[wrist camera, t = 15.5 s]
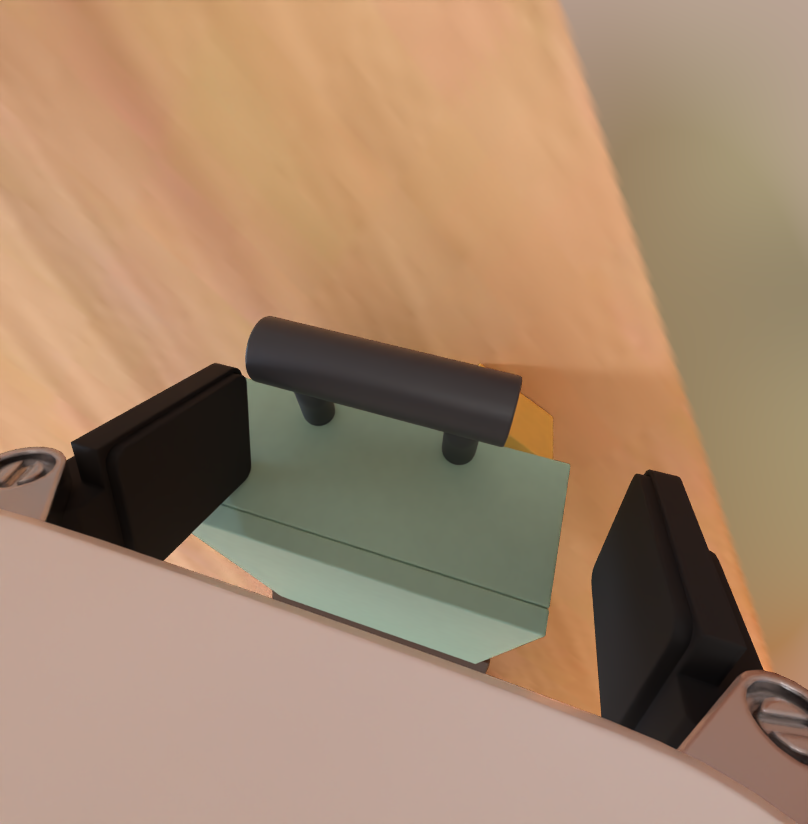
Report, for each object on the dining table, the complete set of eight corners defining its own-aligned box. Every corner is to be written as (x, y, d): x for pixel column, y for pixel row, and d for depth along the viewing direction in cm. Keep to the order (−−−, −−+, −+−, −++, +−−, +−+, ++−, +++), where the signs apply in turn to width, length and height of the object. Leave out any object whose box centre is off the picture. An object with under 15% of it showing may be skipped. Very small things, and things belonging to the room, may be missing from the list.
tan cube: (406, 470, 19) (429, 423, 22) (486, 527, 19) (496, 472, 23) (465, 402, 17) (479, 362, 20) (553, 467, 17) (553, 416, 20)
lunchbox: (280, 596, 23) (317, 509, 25) (476, 664, 21) (496, 565, 24) (73, 450, 9) (196, 284, 11) (597, 617, 7) (620, 383, 10)
